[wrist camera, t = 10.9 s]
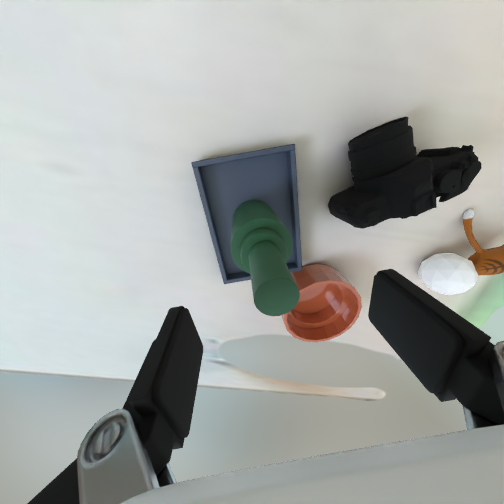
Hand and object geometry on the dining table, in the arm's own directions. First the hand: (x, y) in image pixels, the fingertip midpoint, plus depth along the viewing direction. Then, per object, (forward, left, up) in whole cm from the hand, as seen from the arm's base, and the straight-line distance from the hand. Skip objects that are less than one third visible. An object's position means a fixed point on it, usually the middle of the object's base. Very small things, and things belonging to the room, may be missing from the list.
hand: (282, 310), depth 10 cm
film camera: (-3, +17, -20) cm, 26 cm away
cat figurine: (+11, +34, -20) cm, 41 cm away
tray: (+1, 0, -20) cm, 20 cm away
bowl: (+16, +8, -20) cm, 26 cm away
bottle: (+1, 0, -19) cm, 19 cm away
